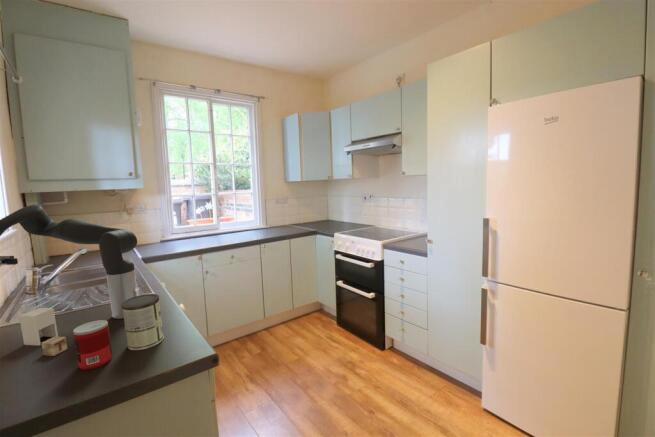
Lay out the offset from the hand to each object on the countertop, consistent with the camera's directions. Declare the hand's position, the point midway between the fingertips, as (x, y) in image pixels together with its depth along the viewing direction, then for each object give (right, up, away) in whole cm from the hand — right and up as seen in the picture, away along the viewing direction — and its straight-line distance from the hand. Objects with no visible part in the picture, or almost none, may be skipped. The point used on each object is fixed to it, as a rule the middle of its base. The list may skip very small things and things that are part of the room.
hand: (1, 264), depth 103 cm
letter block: (+24, -26, -7) cm, 36 cm away
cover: (+12, -26, +1) cm, 28 cm away
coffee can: (+50, -24, -3) cm, 55 cm away
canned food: (+41, -26, -14) cm, 51 cm away
